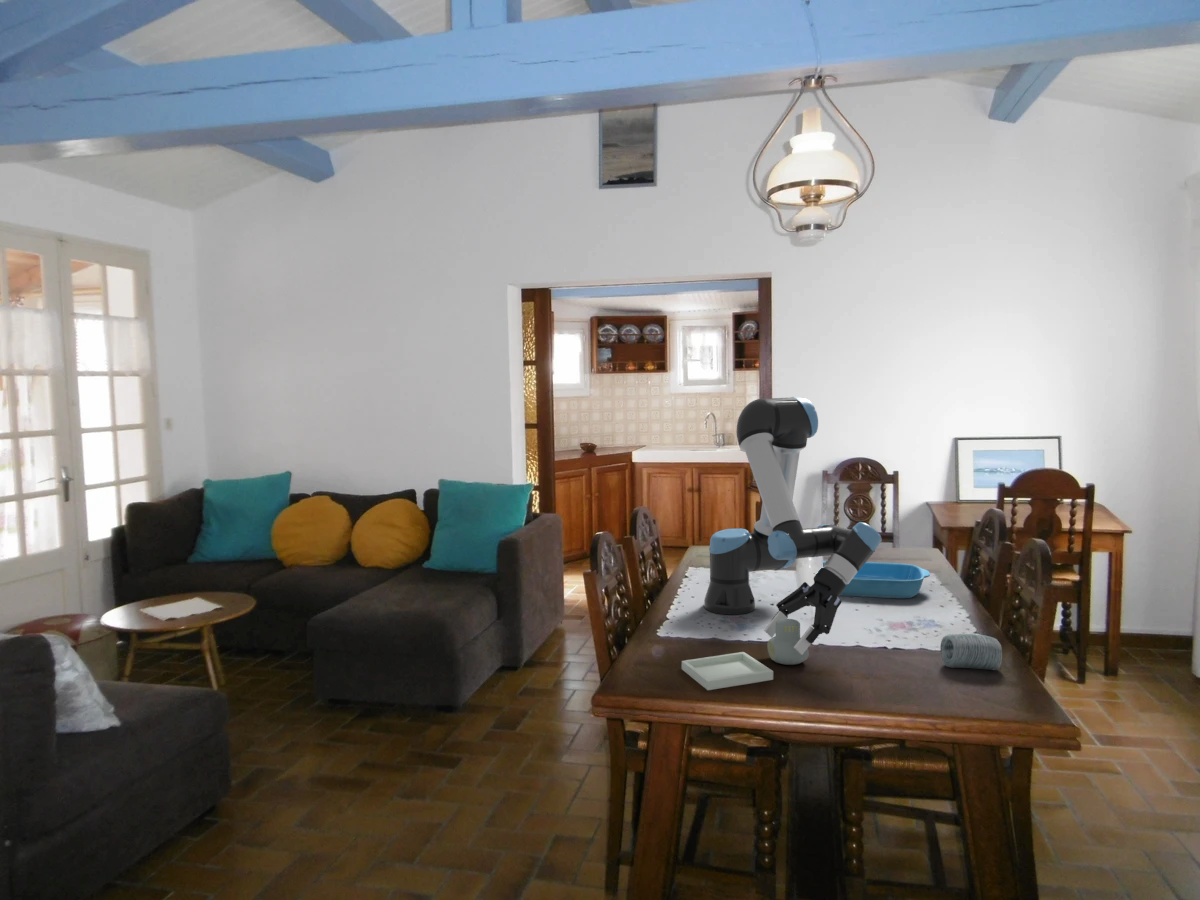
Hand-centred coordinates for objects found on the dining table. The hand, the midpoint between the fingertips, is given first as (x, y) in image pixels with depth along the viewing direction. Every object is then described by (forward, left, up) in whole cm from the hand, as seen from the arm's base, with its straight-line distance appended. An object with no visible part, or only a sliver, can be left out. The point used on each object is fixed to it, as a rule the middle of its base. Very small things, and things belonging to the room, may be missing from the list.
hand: (782, 642), depth 203 cm
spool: (+20, +40, -5) cm, 45 cm away
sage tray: (+2, -16, -6) cm, 17 cm away
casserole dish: (-45, +60, -6) cm, 75 cm away
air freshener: (0, +2, -5) cm, 6 cm away
